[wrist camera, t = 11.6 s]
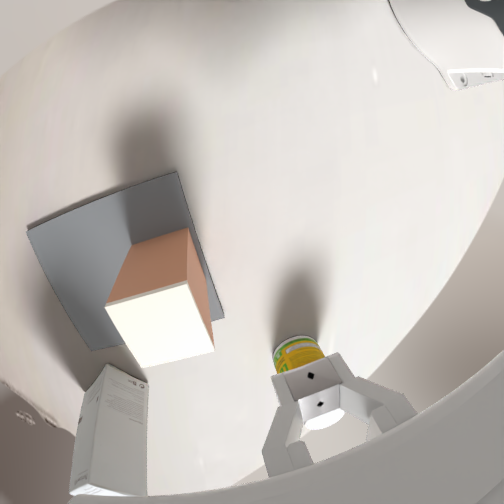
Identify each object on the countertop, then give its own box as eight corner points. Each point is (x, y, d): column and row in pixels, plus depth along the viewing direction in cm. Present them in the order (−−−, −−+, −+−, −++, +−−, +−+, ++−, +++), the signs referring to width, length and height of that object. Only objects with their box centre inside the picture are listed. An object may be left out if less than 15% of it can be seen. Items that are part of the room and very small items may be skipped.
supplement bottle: (269, 341, 30) (296, 413, 21) (316, 328, 31) (355, 393, 22) (274, 373, 32) (298, 439, 24) (317, 360, 33) (349, 422, 24)
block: (188, 227, 23) (186, 283, 15) (206, 279, 25) (214, 350, 17) (131, 245, 22) (104, 307, 14) (153, 295, 25) (141, 368, 17)
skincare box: (107, 361, 27) (85, 481, 14) (152, 384, 30) (151, 500, 16) (83, 394, 29) (64, 494, 15) (123, 413, 31) (117, 511, 18)
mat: (176, 171, 21) (176, 172, 21) (224, 315, 27) (224, 317, 27) (27, 230, 20) (25, 231, 20) (92, 348, 26) (91, 350, 26)
